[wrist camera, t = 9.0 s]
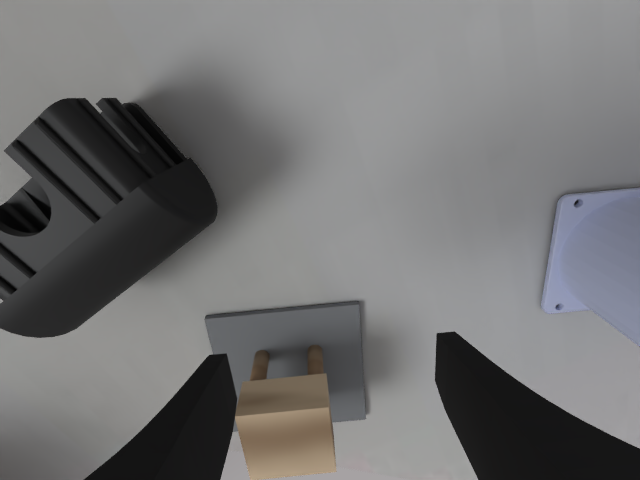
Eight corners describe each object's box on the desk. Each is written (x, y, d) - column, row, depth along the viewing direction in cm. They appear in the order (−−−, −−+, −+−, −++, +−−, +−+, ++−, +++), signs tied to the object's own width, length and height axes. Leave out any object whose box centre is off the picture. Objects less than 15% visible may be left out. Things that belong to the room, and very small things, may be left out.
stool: (330, 398, 26) (336, 471, 21) (261, 404, 26) (250, 480, 21) (324, 341, 24) (328, 407, 19) (250, 348, 24) (234, 416, 19)
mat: (358, 301, 23) (359, 304, 23) (365, 414, 27) (365, 419, 27) (206, 315, 23) (204, 319, 23) (233, 427, 27) (232, 431, 27)
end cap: (114, 291, 23) (40, 365, 16) (17, 205, 21) (-111, 253, 14) (232, 198, 21) (200, 242, 14) (139, 91, 19) (53, 89, 12)
